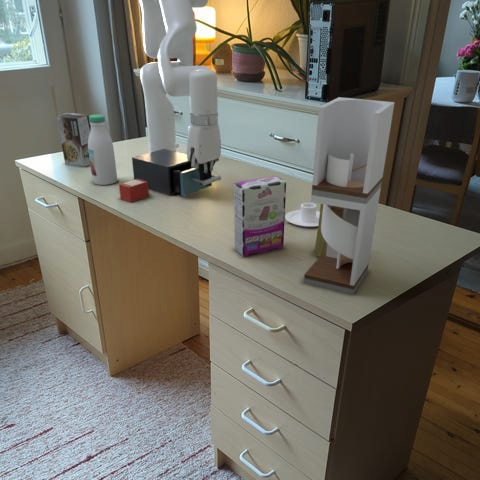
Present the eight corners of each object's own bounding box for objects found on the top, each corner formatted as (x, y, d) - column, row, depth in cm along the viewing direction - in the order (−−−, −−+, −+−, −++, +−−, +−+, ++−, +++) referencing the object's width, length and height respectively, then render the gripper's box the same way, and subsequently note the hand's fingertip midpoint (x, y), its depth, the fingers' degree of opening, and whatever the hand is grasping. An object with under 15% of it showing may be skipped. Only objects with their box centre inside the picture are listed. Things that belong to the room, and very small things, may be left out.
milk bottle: (120, 178, 168) (113, 113, 158) (113, 186, 162) (105, 118, 151) (97, 177, 169) (88, 112, 158) (89, 185, 163) (79, 118, 152)
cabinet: (200, 184, 164) (199, 157, 159) (169, 195, 155) (167, 167, 150) (165, 175, 172) (163, 148, 167) (134, 185, 163) (131, 157, 158)
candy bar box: (273, 241, 128) (276, 175, 119) (284, 248, 124) (288, 181, 115) (232, 249, 123) (232, 181, 114) (242, 257, 120) (243, 188, 111)
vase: (311, 248, 124) (317, 190, 116) (337, 248, 125) (343, 190, 117) (317, 259, 119) (323, 200, 111) (343, 259, 119) (351, 199, 112)
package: (120, 199, 152) (118, 184, 150) (138, 192, 157) (137, 178, 154) (131, 202, 150) (129, 187, 147) (148, 196, 154) (147, 181, 152)
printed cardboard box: (96, 162, 183) (89, 114, 175) (84, 167, 178) (77, 118, 170) (76, 159, 187) (68, 112, 178) (64, 163, 182) (55, 115, 173)
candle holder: (277, 215, 142) (278, 200, 140) (315, 209, 146) (316, 194, 144) (298, 231, 133) (299, 215, 130) (338, 225, 137) (340, 209, 134)
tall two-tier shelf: (321, 261, 118) (338, 97, 99) (367, 271, 114) (394, 102, 95) (303, 282, 110) (319, 107, 91) (352, 294, 106) (379, 113, 87)
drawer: (227, 190, 157) (227, 167, 153) (199, 201, 149) (198, 177, 145) (178, 176, 168) (177, 155, 164) (149, 186, 159) (147, 163, 156)
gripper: (211, 113, 150) (213, 176, 160) (175, 122, 140) (178, 188, 150) (231, 117, 146) (231, 181, 156) (195, 126, 136) (197, 194, 146)
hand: (205, 184), depth 153 cm, fingers closed
